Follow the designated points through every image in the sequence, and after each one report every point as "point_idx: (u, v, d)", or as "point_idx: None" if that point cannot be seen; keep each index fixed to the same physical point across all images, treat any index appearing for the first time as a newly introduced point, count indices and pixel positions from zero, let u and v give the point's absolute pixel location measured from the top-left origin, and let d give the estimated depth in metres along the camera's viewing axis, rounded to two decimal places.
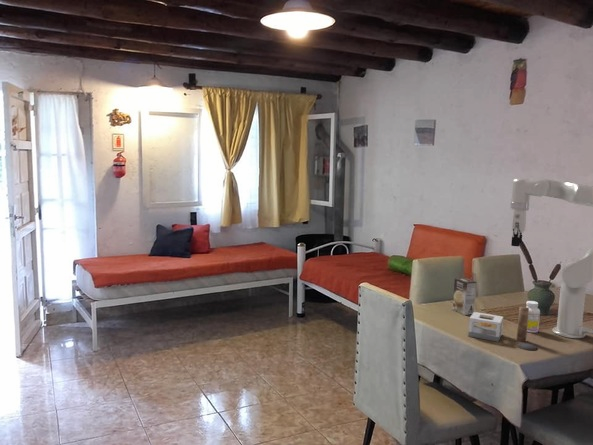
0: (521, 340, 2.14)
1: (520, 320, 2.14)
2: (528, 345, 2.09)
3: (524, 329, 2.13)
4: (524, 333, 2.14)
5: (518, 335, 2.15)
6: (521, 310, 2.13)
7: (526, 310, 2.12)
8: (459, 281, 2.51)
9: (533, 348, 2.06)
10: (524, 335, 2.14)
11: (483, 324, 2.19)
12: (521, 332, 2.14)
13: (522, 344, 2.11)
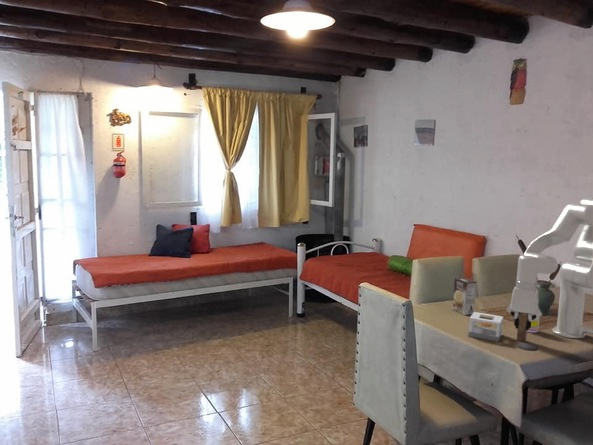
0: (521, 340, 2.14)
1: (520, 320, 2.14)
2: (528, 345, 2.09)
3: (524, 329, 2.13)
4: (524, 333, 2.14)
5: (518, 335, 2.15)
6: None
7: None
8: (459, 281, 2.51)
9: (533, 348, 2.06)
10: (524, 335, 2.14)
11: (483, 324, 2.19)
12: (521, 332, 2.14)
13: (522, 344, 2.11)
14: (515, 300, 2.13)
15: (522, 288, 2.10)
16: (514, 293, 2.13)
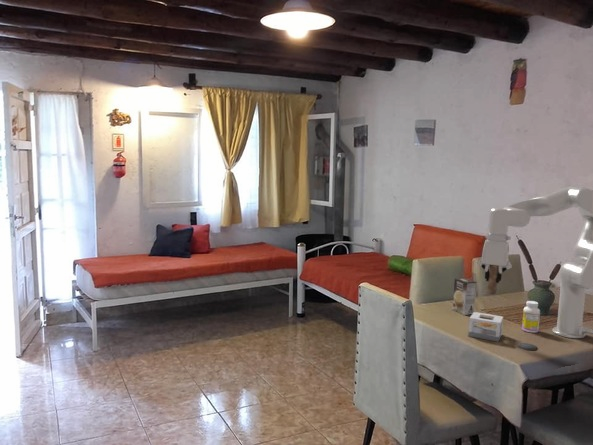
0: (491, 292, 2.16)
1: (490, 272, 2.16)
2: (528, 345, 2.09)
3: (494, 281, 2.15)
4: (494, 285, 2.15)
5: (488, 288, 2.17)
6: None
7: None
8: (459, 281, 2.51)
9: (533, 348, 2.06)
10: (494, 287, 2.16)
11: (483, 324, 2.19)
12: (491, 284, 2.16)
13: (522, 344, 2.11)
14: (486, 252, 2.15)
15: (493, 240, 2.12)
16: (485, 245, 2.15)
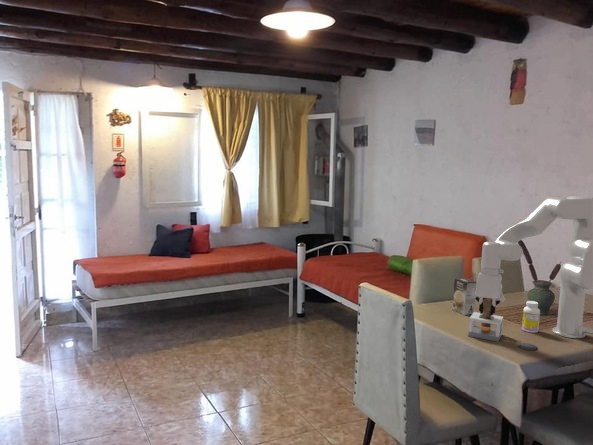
0: (485, 325, 2.18)
1: (484, 305, 2.18)
2: (528, 345, 2.09)
3: (488, 314, 2.18)
4: (488, 318, 2.18)
5: None
6: None
7: None
8: (459, 281, 2.51)
9: (533, 348, 2.06)
10: None
11: (483, 329, 2.19)
12: (485, 317, 2.18)
13: (522, 344, 2.11)
14: (480, 286, 2.18)
15: (486, 274, 2.15)
16: (478, 279, 2.18)
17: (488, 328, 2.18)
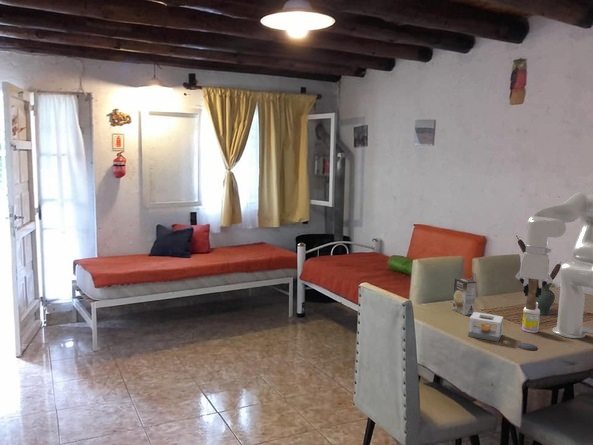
0: (531, 308, 2.04)
1: (529, 287, 2.04)
2: (528, 345, 2.09)
3: (534, 296, 2.04)
4: (534, 300, 2.04)
5: (527, 303, 2.05)
6: None
7: None
8: (459, 281, 2.51)
9: (533, 348, 2.06)
10: (534, 303, 2.04)
11: (483, 329, 2.19)
12: (530, 300, 2.04)
13: (522, 344, 2.11)
14: (525, 266, 2.04)
15: (532, 253, 2.01)
16: (523, 258, 2.04)
17: (488, 328, 2.18)
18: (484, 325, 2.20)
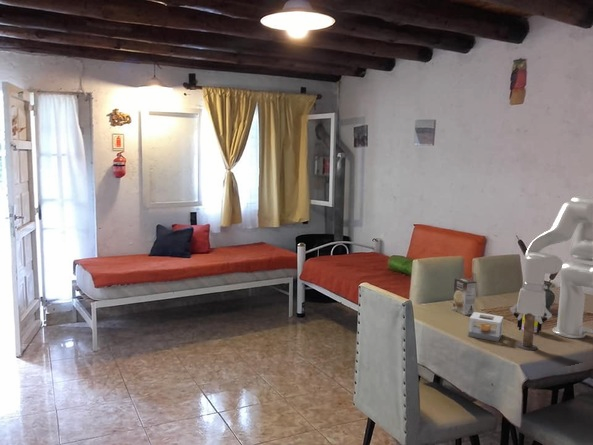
0: (527, 346, 2.06)
1: (526, 325, 2.06)
2: None
3: (530, 334, 2.06)
4: (530, 339, 2.06)
5: (524, 341, 2.07)
6: (527, 315, 2.05)
7: (532, 315, 2.05)
8: (459, 281, 2.51)
9: (533, 348, 2.06)
10: (531, 341, 2.06)
11: (483, 329, 2.19)
12: (527, 338, 2.06)
13: (522, 344, 2.11)
14: (522, 302, 2.06)
15: (529, 289, 2.03)
16: (520, 295, 2.06)
17: (488, 328, 2.18)
18: (484, 325, 2.20)
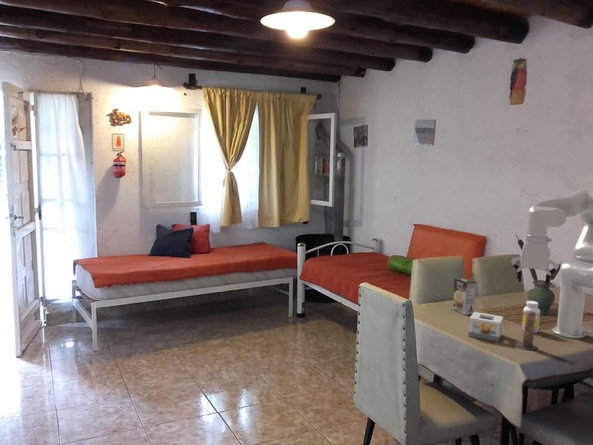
0: (528, 346, 2.07)
1: (526, 325, 2.06)
2: None
3: (531, 334, 2.06)
4: (531, 339, 2.06)
5: (524, 341, 2.07)
6: (528, 315, 2.05)
7: (533, 315, 2.05)
8: (459, 281, 2.51)
9: (533, 348, 2.06)
10: (531, 341, 2.06)
11: (483, 329, 2.19)
12: (527, 338, 2.06)
13: (522, 344, 2.11)
14: (525, 255, 2.04)
15: (533, 242, 2.01)
16: (524, 248, 2.04)
17: (488, 328, 2.18)
18: (484, 325, 2.20)
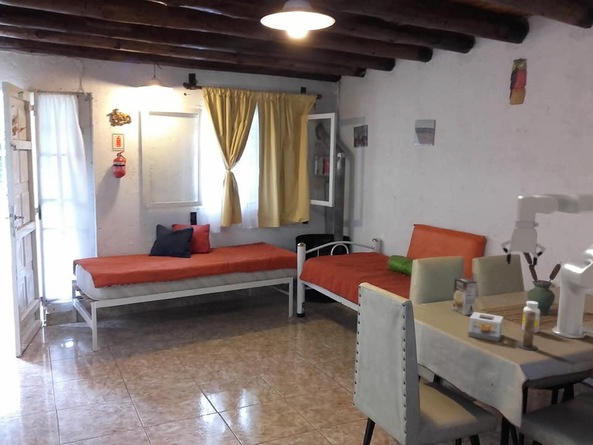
0: (527, 346, 2.07)
1: (526, 325, 2.06)
2: None
3: (531, 334, 2.06)
4: (531, 339, 2.06)
5: (524, 341, 2.07)
6: (527, 315, 2.06)
7: (533, 315, 2.05)
8: (459, 281, 2.51)
9: (533, 348, 2.06)
10: (531, 341, 2.06)
11: (483, 329, 2.19)
12: (527, 338, 2.06)
13: (522, 344, 2.11)
14: (514, 239, 2.18)
15: (521, 227, 2.15)
16: (513, 233, 2.18)
17: (488, 328, 2.18)
18: (484, 325, 2.20)
